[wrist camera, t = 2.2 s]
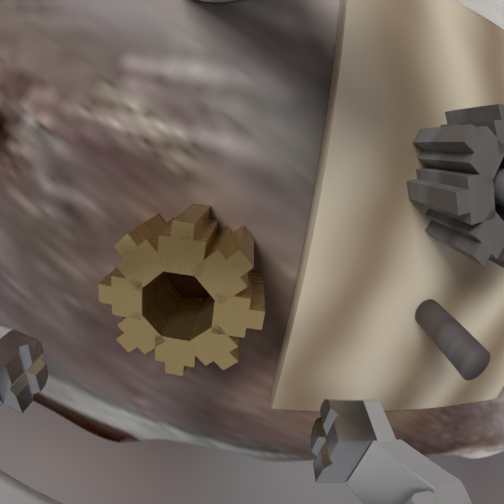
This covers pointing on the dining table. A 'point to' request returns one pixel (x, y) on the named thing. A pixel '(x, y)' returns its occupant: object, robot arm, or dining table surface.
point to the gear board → (404, 217)
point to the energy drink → (217, 0)
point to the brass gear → (176, 305)
